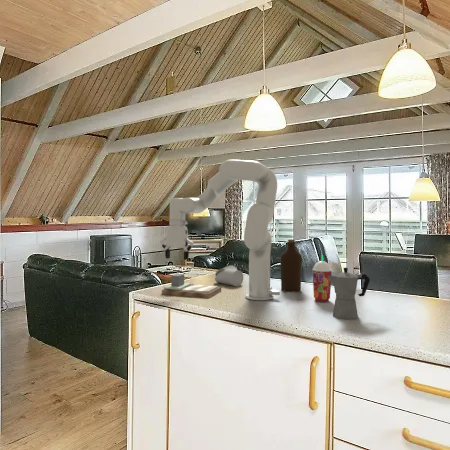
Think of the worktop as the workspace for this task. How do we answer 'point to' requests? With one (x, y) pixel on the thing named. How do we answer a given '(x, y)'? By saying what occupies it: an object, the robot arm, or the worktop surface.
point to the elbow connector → (229, 276)
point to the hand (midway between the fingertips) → (176, 258)
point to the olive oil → (291, 268)
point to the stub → (177, 282)
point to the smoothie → (321, 281)
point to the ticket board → (194, 291)
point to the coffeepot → (347, 293)
